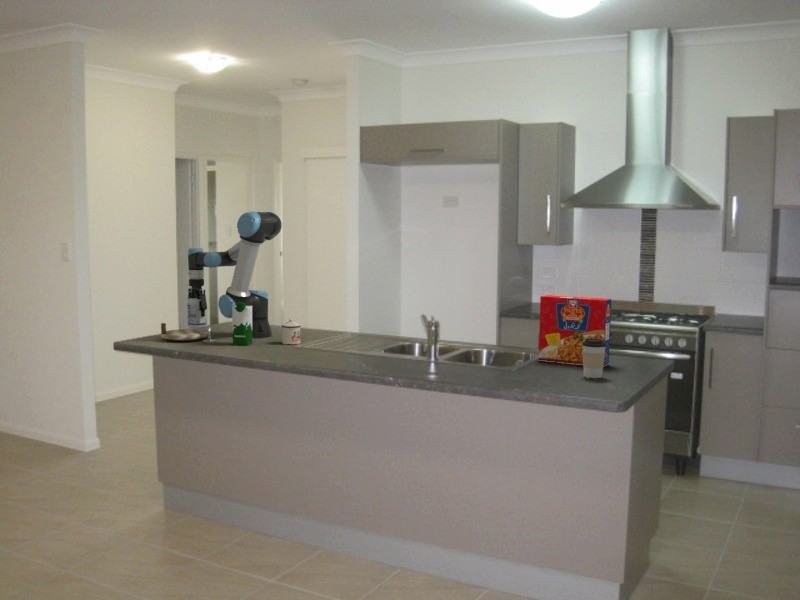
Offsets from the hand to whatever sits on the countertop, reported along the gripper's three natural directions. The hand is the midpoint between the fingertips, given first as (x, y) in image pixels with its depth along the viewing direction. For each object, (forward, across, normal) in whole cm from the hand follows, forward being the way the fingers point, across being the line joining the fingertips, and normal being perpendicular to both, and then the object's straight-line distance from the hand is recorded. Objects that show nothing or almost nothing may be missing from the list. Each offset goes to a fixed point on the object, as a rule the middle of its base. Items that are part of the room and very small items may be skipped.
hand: (197, 321), depth 417 cm
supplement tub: (+3, 0, 0) cm, 3 cm away
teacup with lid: (+7, +56, +21) cm, 60 cm away
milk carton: (+7, +45, 0) cm, 45 cm away
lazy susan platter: (+4, +15, -15) cm, 22 cm away
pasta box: (+10, +172, +85) cm, 192 cm away
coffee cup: (+10, +194, +67) cm, 206 cm away
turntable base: (+6, +15, -15) cm, 22 cm away
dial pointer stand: (+6, +27, -9) cm, 30 cm away
